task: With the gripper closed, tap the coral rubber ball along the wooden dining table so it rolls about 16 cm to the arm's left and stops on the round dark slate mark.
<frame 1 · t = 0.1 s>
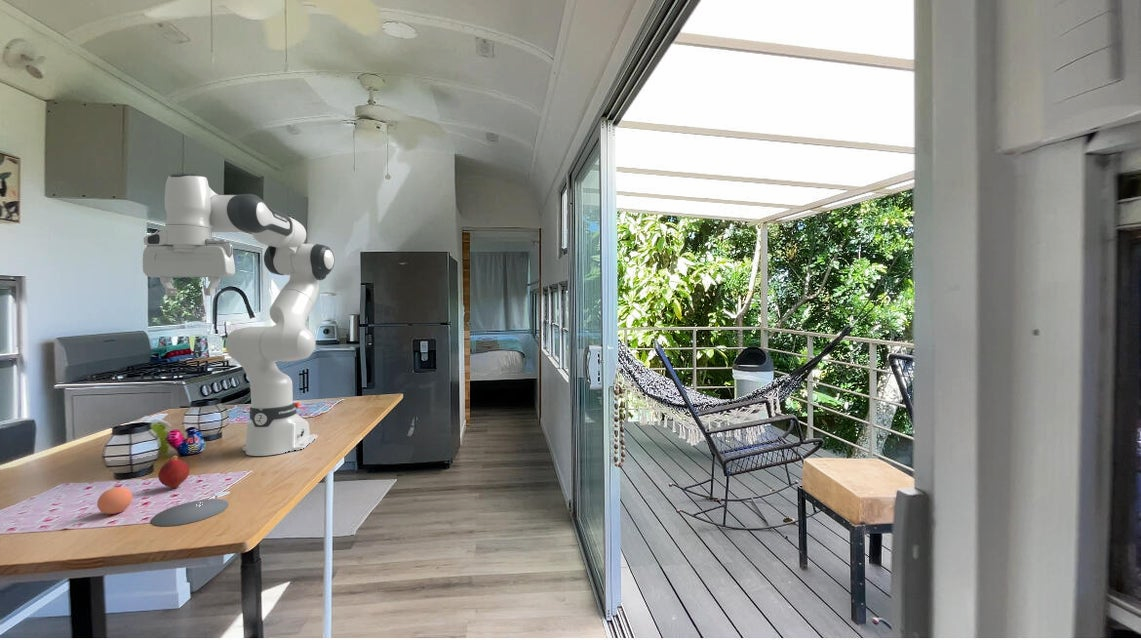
hand: (190, 295, 114), 48 cm above the table, tool pointing down, fingers open, 8 cm apart
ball: (115, 500, 101), on the table
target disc: (191, 512, 101), on the table
onion: (174, 488, 115), on the table
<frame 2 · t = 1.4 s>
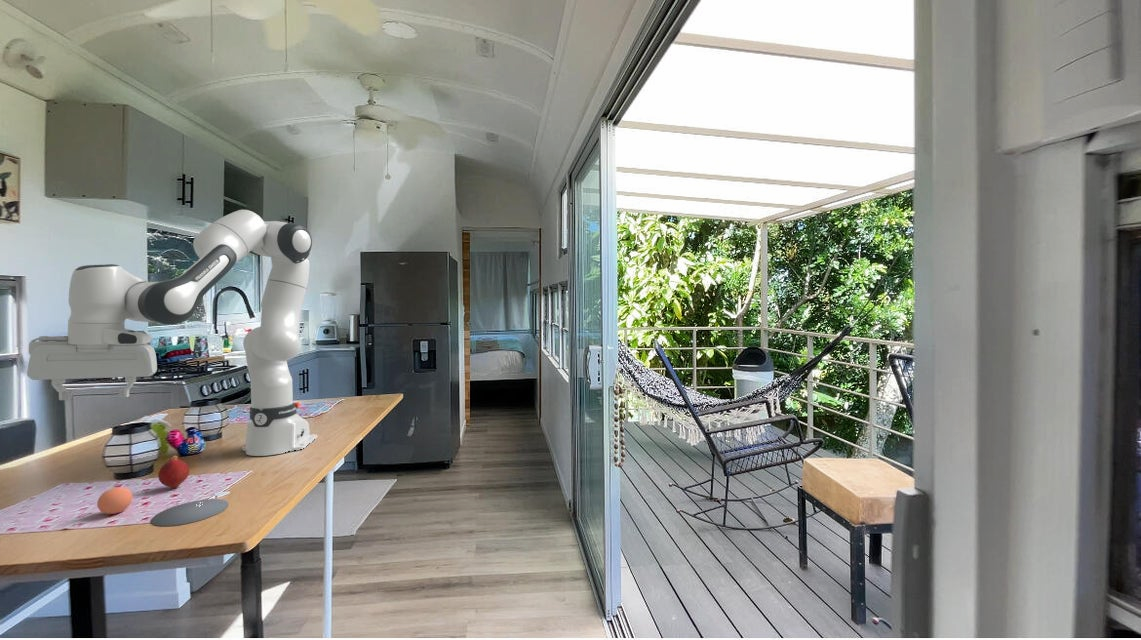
hand: (95, 398, 103), 25 cm above the table, tool pointing down, fingers open, 8 cm apart
nothing on the table moved.
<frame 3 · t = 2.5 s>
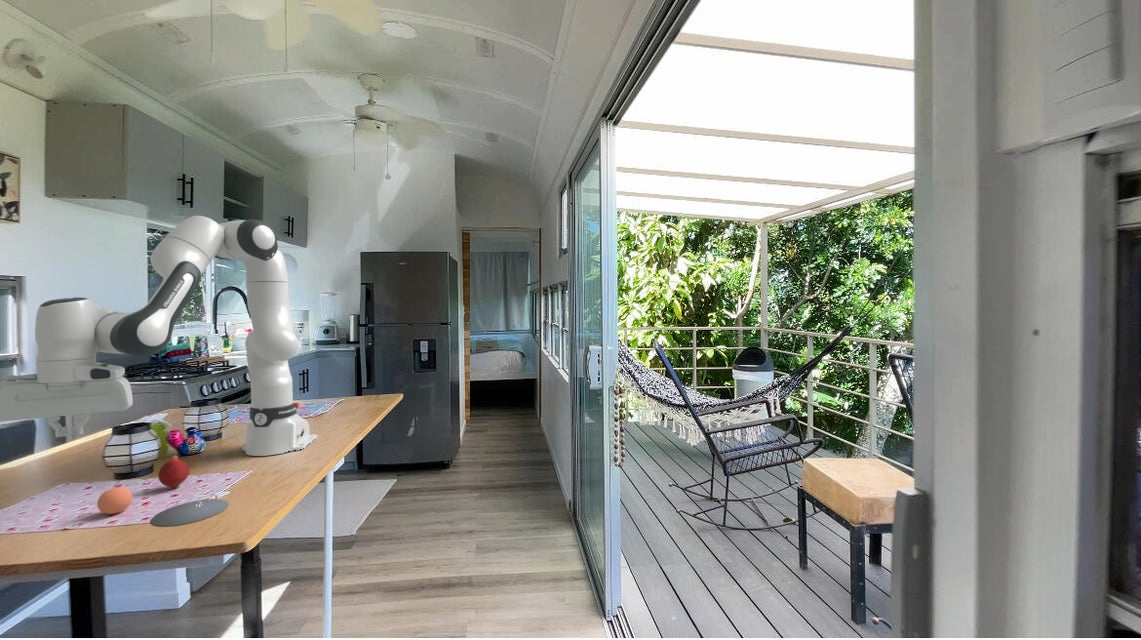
hand: (69, 435, 101), 17 cm above the table, tool pointing down, fingers closed
nothing on the table moved.
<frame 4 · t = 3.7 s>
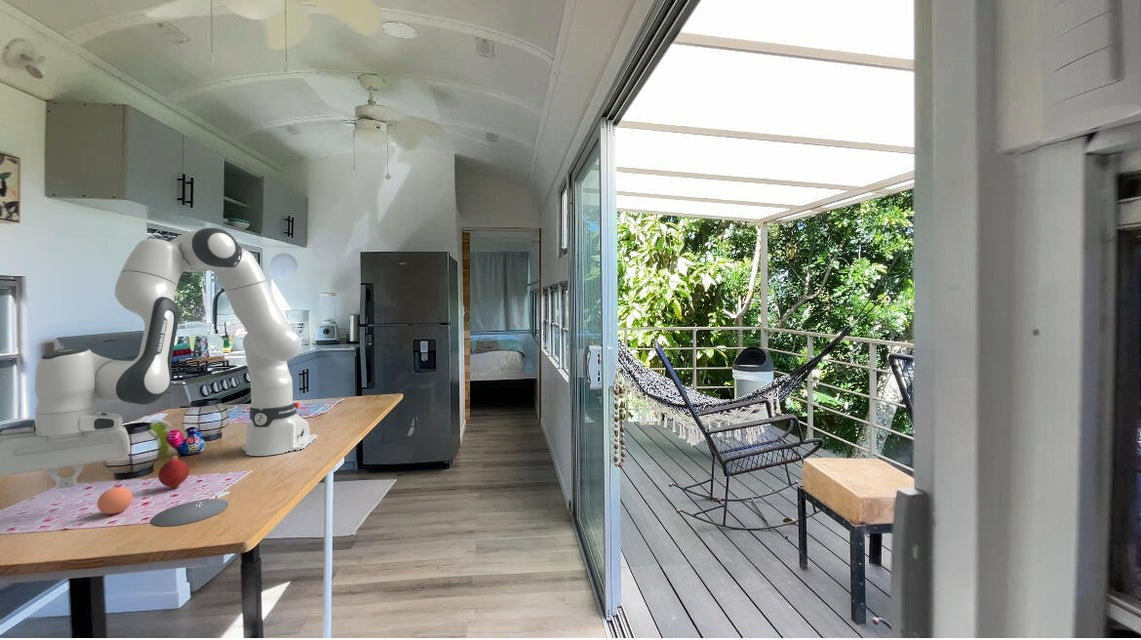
hand: (66, 486, 100), 6 cm above the table, tool pointing down, fingers closed
nothing on the table moved.
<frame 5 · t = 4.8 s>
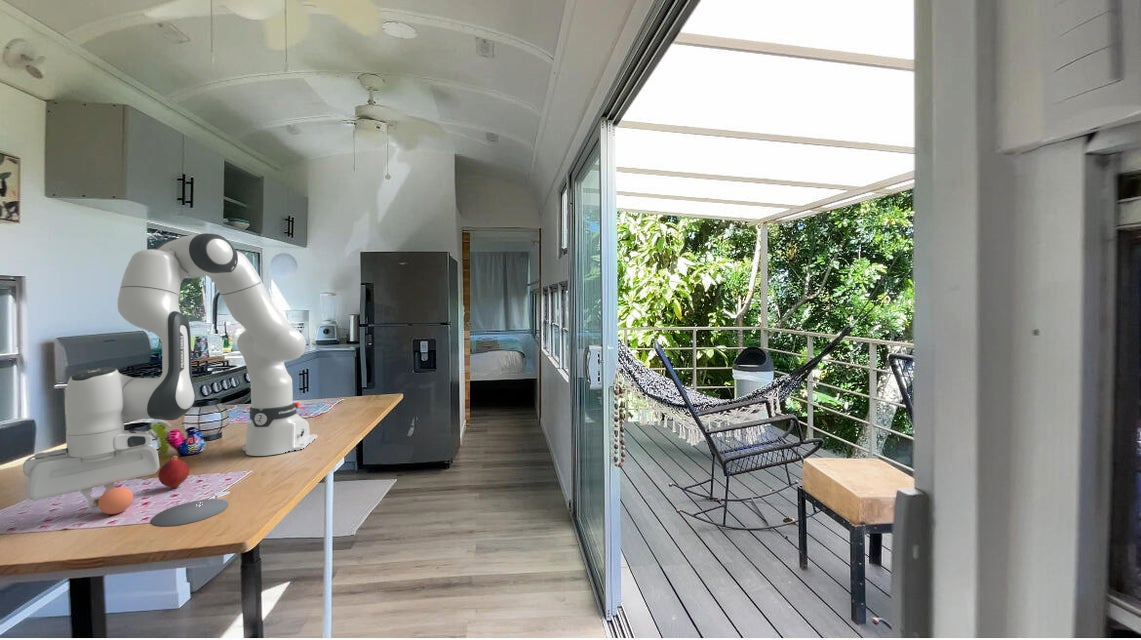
hand: (98, 505, 101), 2 cm above the table, tool pointing down, fingers closed
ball: (116, 500, 101), on the table, touching gripper
everything else where it was.
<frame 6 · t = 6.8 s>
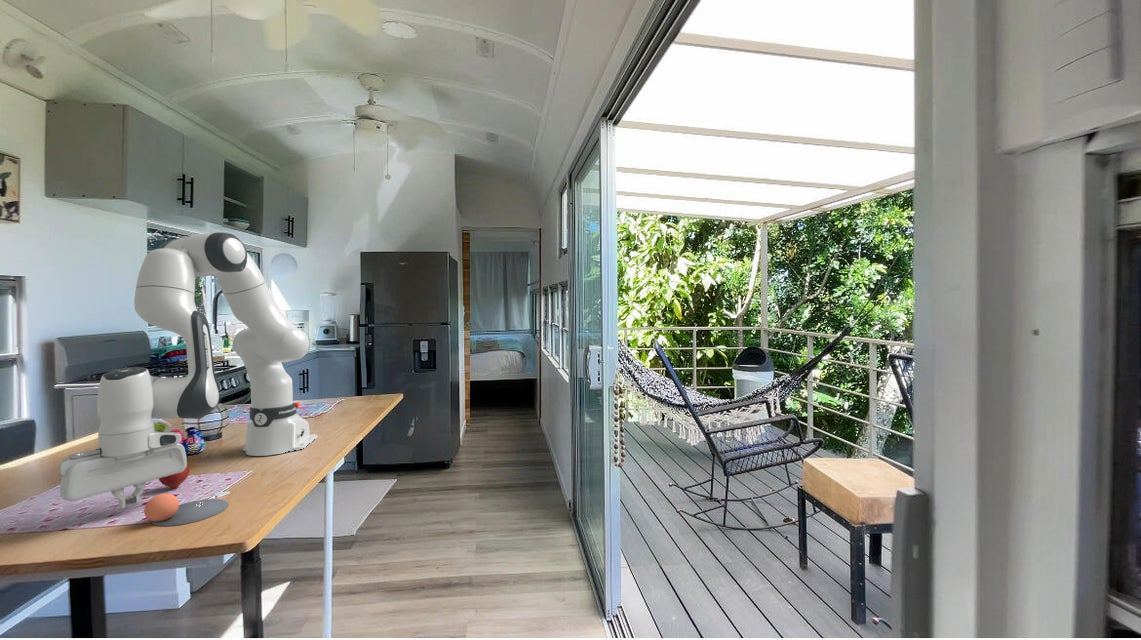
hand: (129, 505, 101), 2 cm above the table, tool pointing down, fingers closed
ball: (161, 507, 97), on the table
everything else where it was.
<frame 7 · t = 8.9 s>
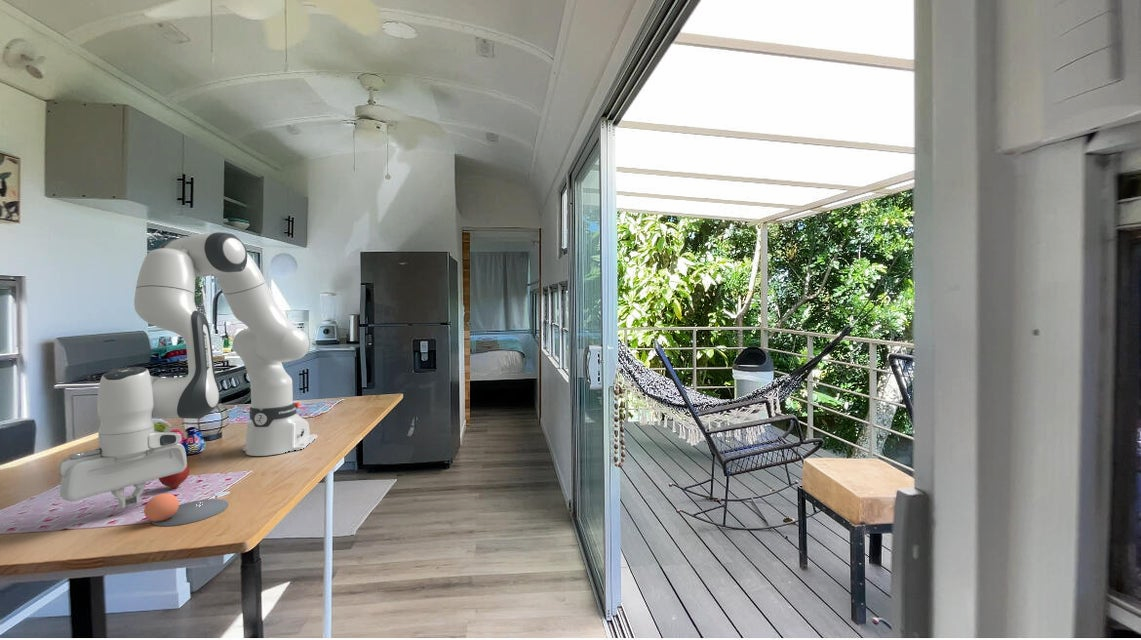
hand: (129, 505, 101), 2 cm above the table, tool pointing down, fingers closed
nothing on the table moved.
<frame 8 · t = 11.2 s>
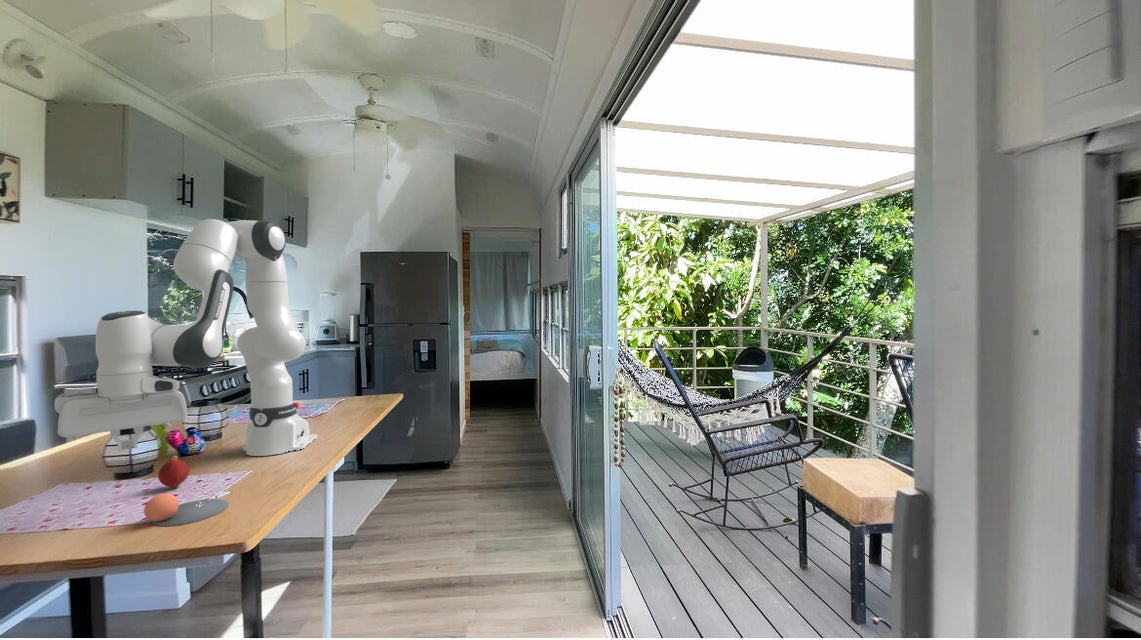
hand: (127, 448, 101), 14 cm above the table, tool pointing down, fingers closed
nothing on the table moved.
at the end: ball 4.9 cm from the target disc (horizontally); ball at rest at the end (0.0 cm/s); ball moved 13.9 cm from its start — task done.
